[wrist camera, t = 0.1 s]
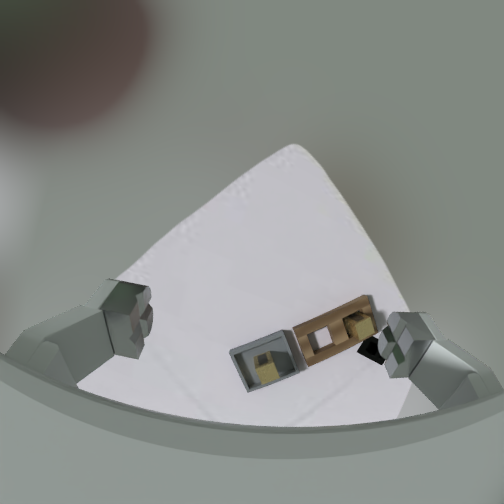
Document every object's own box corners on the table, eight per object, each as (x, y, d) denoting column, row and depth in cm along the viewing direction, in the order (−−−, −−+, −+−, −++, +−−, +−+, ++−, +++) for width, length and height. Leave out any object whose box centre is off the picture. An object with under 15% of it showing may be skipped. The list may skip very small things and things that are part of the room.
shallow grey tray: (297, 368, 63) (299, 372, 60) (247, 388, 62) (247, 392, 59) (281, 329, 63) (283, 332, 60) (229, 349, 62) (229, 353, 60)
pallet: (373, 330, 64) (378, 332, 61) (306, 363, 63) (308, 366, 60) (362, 294, 64) (367, 296, 61) (292, 327, 63) (294, 329, 60)
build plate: (349, 351, 64) (356, 357, 59) (364, 326, 64) (372, 330, 60) (383, 368, 64) (391, 374, 59) (397, 345, 64) (405, 349, 60)
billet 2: (360, 325, 64) (374, 332, 56) (346, 332, 63) (359, 340, 55) (356, 310, 64) (370, 316, 56) (341, 317, 63) (354, 324, 55)
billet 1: (275, 364, 62) (280, 378, 54) (259, 370, 62) (262, 384, 54) (269, 350, 62) (273, 361, 54) (253, 356, 62) (254, 368, 54)
